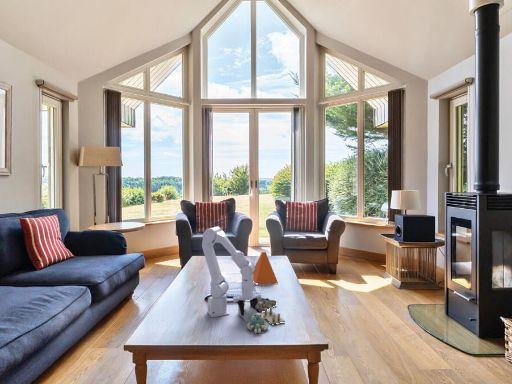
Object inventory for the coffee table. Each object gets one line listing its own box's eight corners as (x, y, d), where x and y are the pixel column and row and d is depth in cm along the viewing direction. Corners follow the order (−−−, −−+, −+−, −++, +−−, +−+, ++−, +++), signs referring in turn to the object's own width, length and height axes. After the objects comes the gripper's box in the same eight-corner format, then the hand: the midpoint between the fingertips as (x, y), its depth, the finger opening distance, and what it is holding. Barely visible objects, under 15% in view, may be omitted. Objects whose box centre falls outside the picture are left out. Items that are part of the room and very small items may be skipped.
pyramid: (249, 278, 229) (249, 250, 228) (270, 276, 234) (270, 248, 233) (255, 285, 214) (256, 255, 213) (278, 283, 219) (278, 253, 218)
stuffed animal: (245, 323, 144) (246, 308, 156) (245, 337, 146) (246, 321, 158) (269, 324, 144) (269, 308, 156) (269, 338, 146) (268, 321, 158)
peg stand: (272, 325, 155) (272, 317, 155) (260, 315, 167) (260, 307, 166) (284, 323, 158) (285, 314, 158) (272, 313, 170) (272, 305, 169)
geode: (276, 300, 189) (250, 300, 189) (276, 293, 189) (250, 293, 188) (279, 314, 170) (251, 314, 170) (280, 306, 170) (251, 306, 169)
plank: (247, 322, 158) (247, 312, 158) (238, 313, 169) (238, 303, 168) (256, 321, 160) (256, 311, 159) (246, 312, 170) (246, 302, 170)
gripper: (236, 291, 157) (236, 319, 157) (264, 288, 163) (263, 314, 164) (231, 287, 163) (231, 314, 164) (257, 283, 169) (257, 309, 170)
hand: (247, 314), depth 164 cm, fingers closed on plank, 5 cm apart
